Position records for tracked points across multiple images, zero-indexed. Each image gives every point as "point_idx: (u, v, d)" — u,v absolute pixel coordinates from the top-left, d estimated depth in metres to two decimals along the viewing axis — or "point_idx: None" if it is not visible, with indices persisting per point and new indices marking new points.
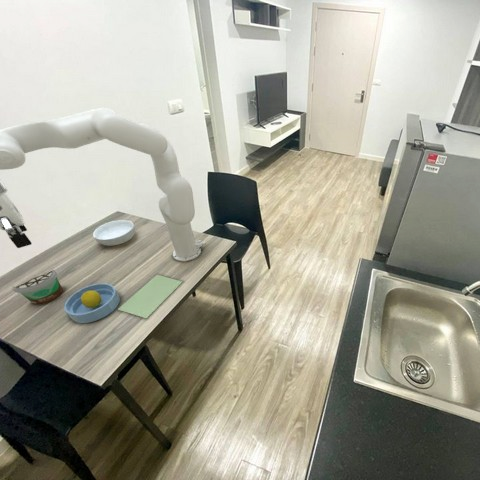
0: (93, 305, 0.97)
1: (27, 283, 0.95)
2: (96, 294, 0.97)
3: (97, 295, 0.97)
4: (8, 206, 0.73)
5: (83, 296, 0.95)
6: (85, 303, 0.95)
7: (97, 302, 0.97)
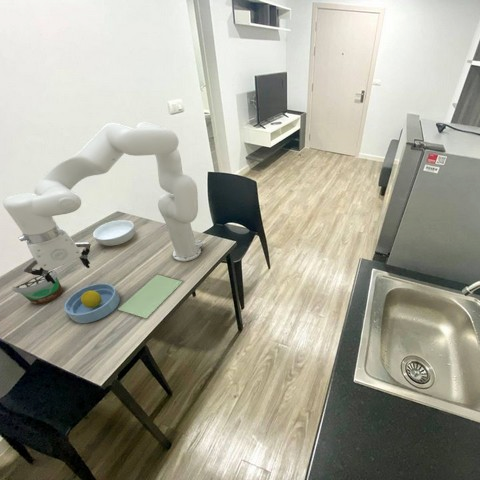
0: (93, 305, 0.97)
1: (27, 283, 0.95)
2: (96, 294, 0.97)
3: (97, 295, 0.97)
4: (35, 254, 0.78)
5: (83, 296, 0.95)
6: (85, 303, 0.95)
7: (97, 302, 0.97)
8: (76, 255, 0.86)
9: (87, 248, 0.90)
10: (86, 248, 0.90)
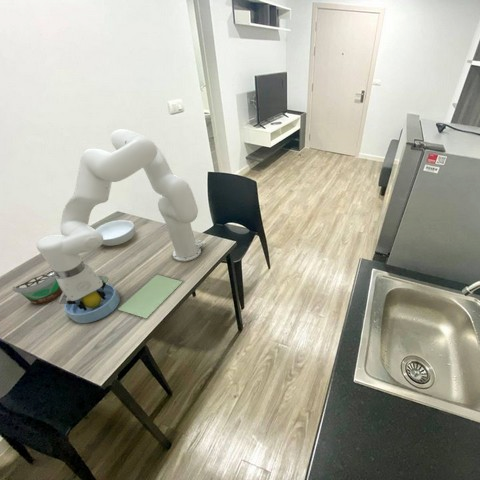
0: (93, 305, 0.97)
1: (27, 283, 0.95)
2: (96, 294, 0.97)
3: (97, 295, 0.97)
4: (63, 287, 0.87)
5: None
6: (85, 303, 0.95)
7: (97, 302, 0.97)
8: (98, 285, 0.95)
9: (104, 282, 0.99)
10: (103, 282, 0.98)
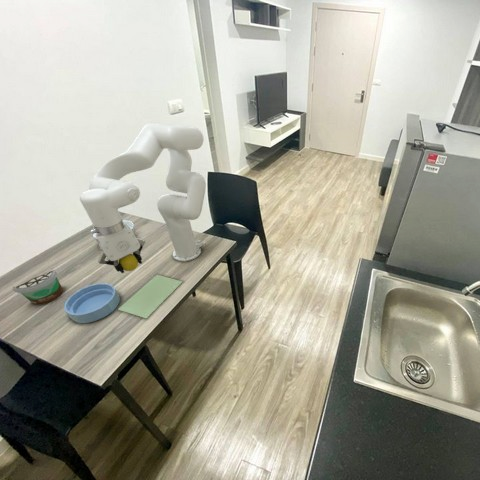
0: (130, 268, 0.94)
1: (27, 283, 0.95)
2: (133, 257, 0.94)
3: (134, 258, 0.94)
4: (104, 245, 0.84)
5: (121, 258, 0.92)
6: (123, 265, 0.92)
7: (134, 265, 0.94)
8: (136, 247, 0.92)
9: (141, 245, 0.96)
10: (140, 244, 0.95)
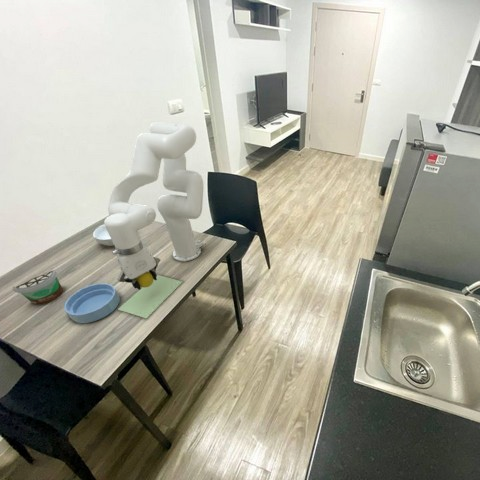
0: (147, 285, 1.00)
1: (27, 283, 0.95)
2: (149, 274, 1.00)
3: (150, 275, 1.01)
4: (124, 265, 0.90)
5: None
6: (140, 282, 0.98)
7: (150, 282, 1.01)
8: (152, 265, 0.99)
9: (156, 263, 1.02)
10: (156, 262, 1.02)
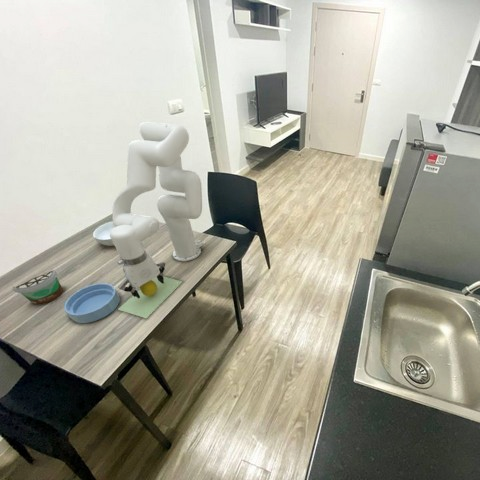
0: (151, 293, 1.03)
1: (27, 283, 0.95)
2: (153, 283, 1.03)
3: (154, 284, 1.04)
4: (129, 275, 0.93)
5: (143, 284, 1.01)
6: (144, 291, 1.01)
7: (154, 290, 1.04)
8: (156, 273, 1.01)
9: (163, 266, 1.05)
10: (162, 267, 1.05)
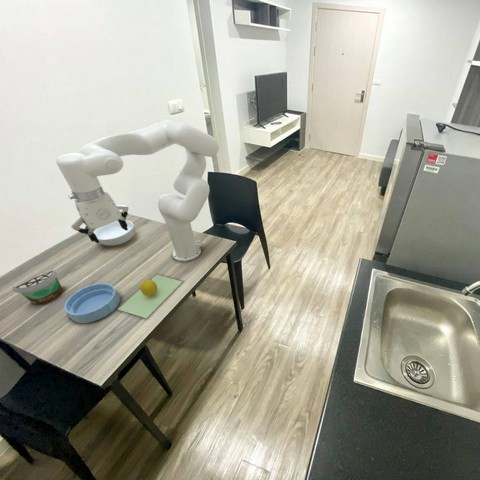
0: (151, 293, 1.03)
1: (27, 283, 0.95)
2: (153, 283, 1.03)
3: (154, 284, 1.04)
4: (83, 212, 0.84)
5: (143, 284, 1.01)
6: (144, 291, 1.01)
7: (154, 290, 1.04)
8: (117, 216, 0.92)
9: (125, 211, 0.96)
10: (124, 211, 0.96)
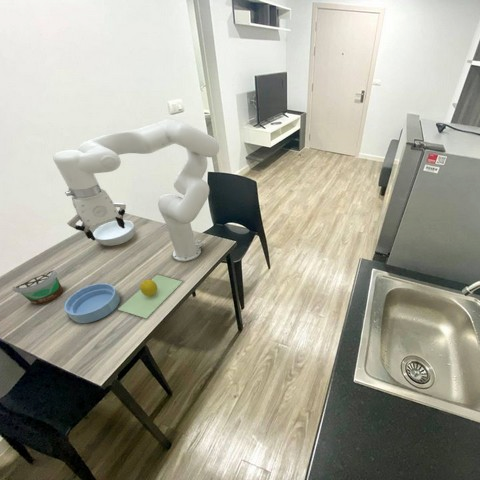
0: (151, 293, 1.03)
1: (27, 283, 0.95)
2: (153, 283, 1.03)
3: (154, 284, 1.04)
4: (79, 209, 0.83)
5: (143, 284, 1.01)
6: (144, 291, 1.01)
7: (154, 290, 1.04)
8: (114, 214, 0.92)
9: (123, 209, 0.96)
10: (122, 209, 0.96)
